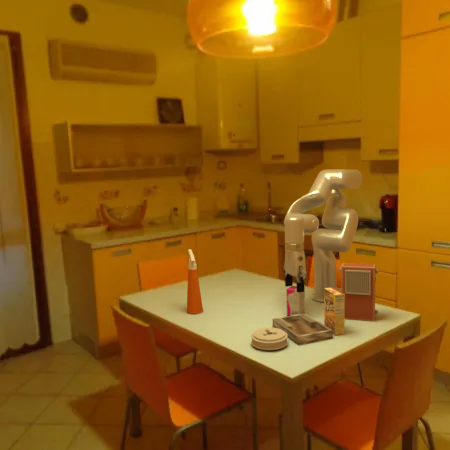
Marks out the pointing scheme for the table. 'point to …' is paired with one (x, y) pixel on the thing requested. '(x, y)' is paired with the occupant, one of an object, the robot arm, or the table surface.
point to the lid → (269, 338)
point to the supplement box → (295, 301)
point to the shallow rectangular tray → (303, 328)
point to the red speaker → (359, 290)
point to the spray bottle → (193, 287)
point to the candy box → (334, 310)
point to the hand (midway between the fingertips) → (294, 288)
